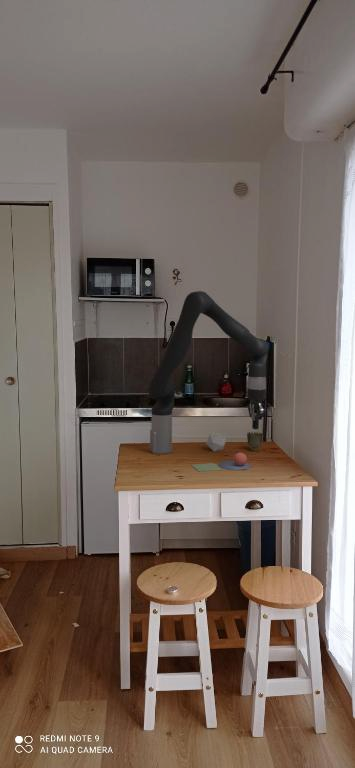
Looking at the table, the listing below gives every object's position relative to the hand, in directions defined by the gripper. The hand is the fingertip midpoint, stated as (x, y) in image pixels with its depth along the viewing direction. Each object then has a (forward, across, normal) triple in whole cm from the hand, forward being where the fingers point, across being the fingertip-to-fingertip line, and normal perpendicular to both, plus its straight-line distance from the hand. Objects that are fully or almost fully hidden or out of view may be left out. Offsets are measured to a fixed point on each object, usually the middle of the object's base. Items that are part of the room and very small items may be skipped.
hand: (255, 428), depth 240 cm
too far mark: (+15, 0, -21) cm, 26 cm away
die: (+15, -27, -7) cm, 32 cm away
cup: (+15, -22, +10) cm, 29 cm away
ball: (+12, +1, -7) cm, 14 cm away
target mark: (+15, 0, -9) cm, 17 cm away
